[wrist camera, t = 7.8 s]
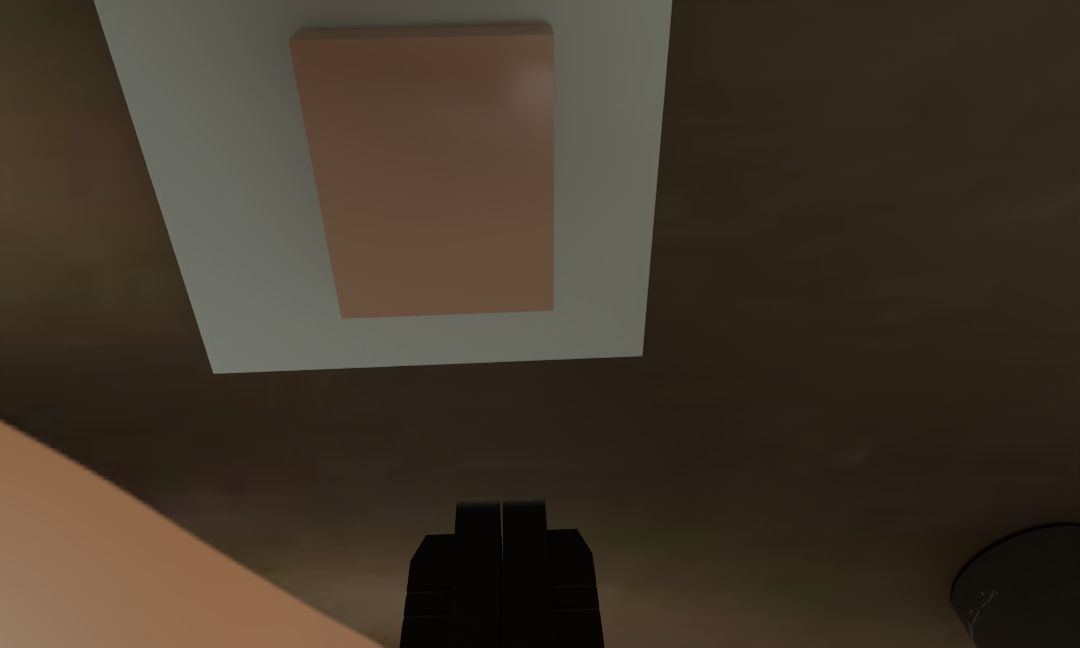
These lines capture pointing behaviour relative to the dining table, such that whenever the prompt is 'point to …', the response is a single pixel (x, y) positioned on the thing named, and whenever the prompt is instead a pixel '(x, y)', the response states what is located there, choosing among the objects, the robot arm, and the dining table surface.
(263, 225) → the mat
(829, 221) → the dining table surface
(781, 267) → the dining table surface
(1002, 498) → the dining table surface
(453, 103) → the tile
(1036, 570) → the robot arm
